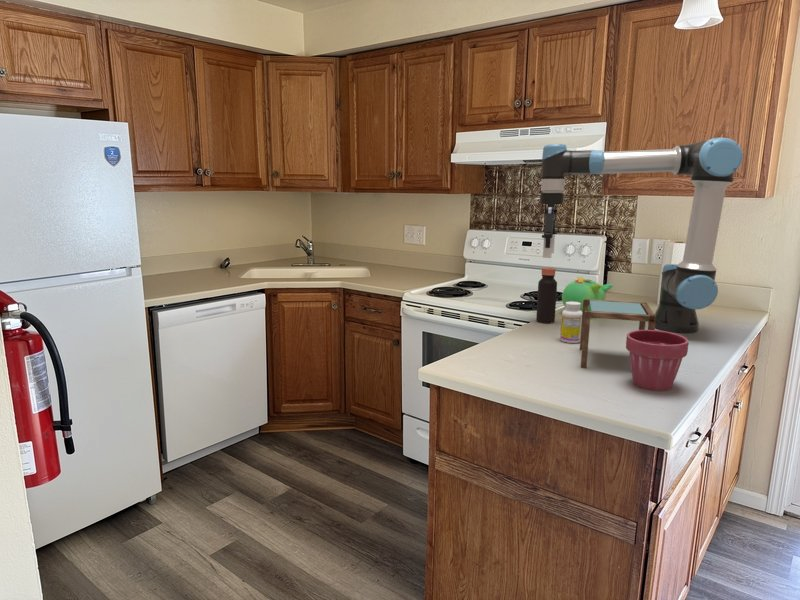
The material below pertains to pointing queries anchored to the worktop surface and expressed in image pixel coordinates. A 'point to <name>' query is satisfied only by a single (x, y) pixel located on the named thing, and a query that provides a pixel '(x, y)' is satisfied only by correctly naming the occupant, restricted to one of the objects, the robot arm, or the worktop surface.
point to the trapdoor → (617, 307)
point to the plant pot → (655, 357)
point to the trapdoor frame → (609, 315)
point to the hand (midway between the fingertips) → (548, 255)
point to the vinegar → (546, 296)
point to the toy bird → (584, 291)
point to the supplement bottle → (571, 323)
